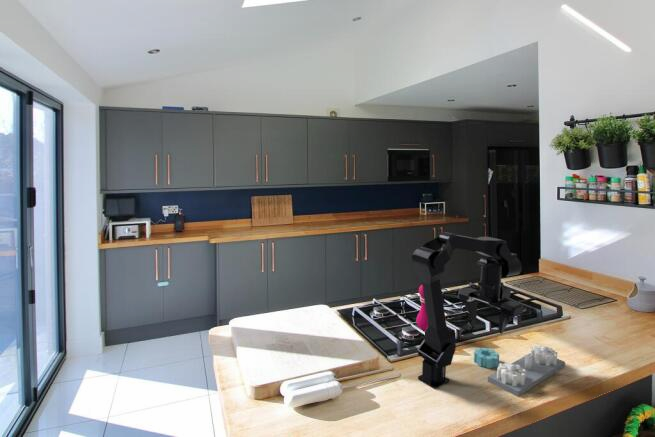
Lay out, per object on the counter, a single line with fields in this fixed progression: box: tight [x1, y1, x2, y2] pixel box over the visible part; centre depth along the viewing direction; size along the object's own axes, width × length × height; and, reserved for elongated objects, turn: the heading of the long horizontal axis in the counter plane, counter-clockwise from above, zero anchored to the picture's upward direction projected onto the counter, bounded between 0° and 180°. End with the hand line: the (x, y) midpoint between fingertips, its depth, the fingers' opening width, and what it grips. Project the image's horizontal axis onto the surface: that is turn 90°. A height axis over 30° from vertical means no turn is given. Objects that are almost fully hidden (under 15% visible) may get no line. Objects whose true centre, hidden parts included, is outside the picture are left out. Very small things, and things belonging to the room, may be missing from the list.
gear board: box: [487, 344, 566, 397], centre depth 118 cm, size 26×9×6 cm, turn 125°
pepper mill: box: [415, 284, 428, 331], centre depth 144 cm, size 7×7×20 cm
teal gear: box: [473, 347, 500, 369], centre depth 124 cm, size 7×7×3 cm
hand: (487, 327), depth 123 cm, fingers open, 9 cm apart
